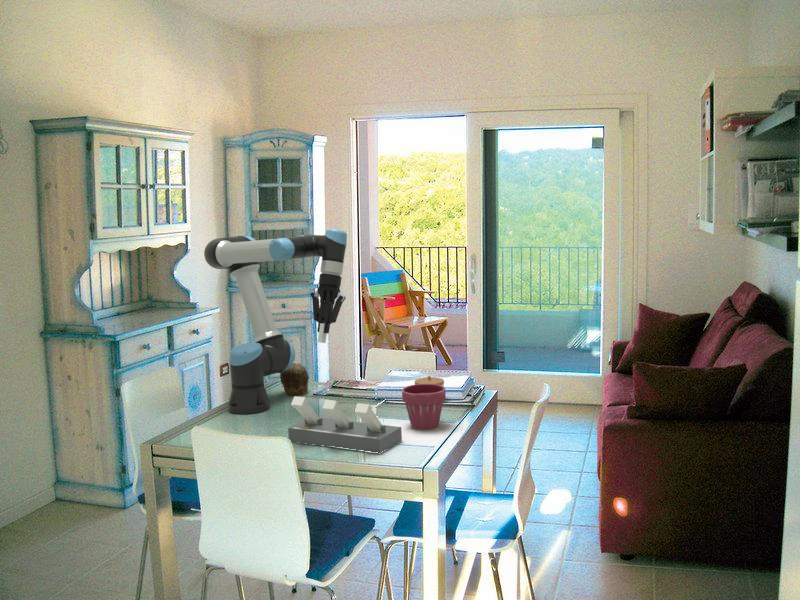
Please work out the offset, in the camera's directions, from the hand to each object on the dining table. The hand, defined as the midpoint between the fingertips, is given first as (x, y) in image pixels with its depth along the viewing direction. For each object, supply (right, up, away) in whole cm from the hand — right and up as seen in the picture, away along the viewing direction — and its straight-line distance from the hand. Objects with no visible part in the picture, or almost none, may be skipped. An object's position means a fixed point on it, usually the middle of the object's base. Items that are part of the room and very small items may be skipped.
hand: (321, 342), depth 295 cm
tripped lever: (-1, -24, -19) cm, 31 cm away
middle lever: (+9, -24, -24) cm, 36 cm away
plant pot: (+35, -27, -10) cm, 46 cm away
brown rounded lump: (-14, -22, +40) cm, 48 cm away
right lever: (+19, -25, -30) cm, 43 cm away
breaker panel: (+10, -30, -24) cm, 39 cm away
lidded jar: (+38, -23, +22) cm, 49 cm away
